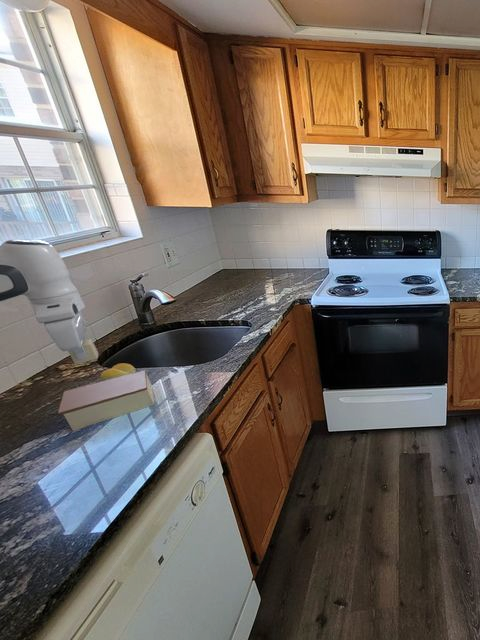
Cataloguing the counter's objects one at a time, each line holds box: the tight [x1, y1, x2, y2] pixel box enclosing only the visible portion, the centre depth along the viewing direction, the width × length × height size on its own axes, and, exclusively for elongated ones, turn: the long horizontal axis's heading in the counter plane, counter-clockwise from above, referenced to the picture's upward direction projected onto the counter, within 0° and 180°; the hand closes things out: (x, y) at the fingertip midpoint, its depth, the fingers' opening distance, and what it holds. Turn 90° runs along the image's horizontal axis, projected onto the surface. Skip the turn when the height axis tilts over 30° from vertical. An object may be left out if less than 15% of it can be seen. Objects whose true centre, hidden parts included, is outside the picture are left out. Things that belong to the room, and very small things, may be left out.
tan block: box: [67, 338, 99, 365], centre depth 97 cm, size 4×4×4 cm
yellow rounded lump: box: [99, 362, 137, 382], centre depth 121 cm, size 8×9×4 cm
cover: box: [57, 369, 147, 416], centre depth 104 cm, size 18×14×1 cm
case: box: [63, 373, 155, 432], centre depth 105 cm, size 18×14×5 cm
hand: (84, 353), depth 97 cm, fingers closed on tan block, 4 cm apart
